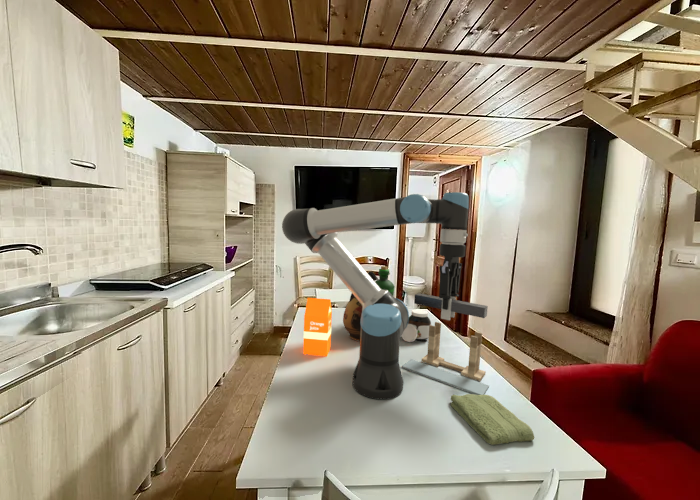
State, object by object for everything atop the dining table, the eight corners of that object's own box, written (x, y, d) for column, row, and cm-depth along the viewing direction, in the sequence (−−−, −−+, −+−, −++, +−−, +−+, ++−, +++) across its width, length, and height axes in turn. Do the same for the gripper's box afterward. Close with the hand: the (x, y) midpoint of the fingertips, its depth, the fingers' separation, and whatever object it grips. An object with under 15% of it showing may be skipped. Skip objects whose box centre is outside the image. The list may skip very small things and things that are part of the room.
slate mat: (482, 397, 87) (482, 395, 87) (401, 367, 103) (401, 365, 102) (488, 387, 92) (489, 385, 92) (411, 360, 108) (411, 359, 108)
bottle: (371, 319, 152) (373, 264, 150) (392, 321, 151) (395, 265, 148) (369, 326, 142) (372, 267, 139) (392, 328, 140) (395, 269, 138)
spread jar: (430, 336, 133) (432, 310, 132) (430, 346, 122) (432, 318, 121) (402, 332, 136) (404, 307, 135) (400, 342, 125) (401, 314, 124)
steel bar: (484, 318, 87) (484, 308, 87) (414, 303, 101) (414, 294, 101) (486, 315, 90) (487, 306, 89) (418, 301, 103) (418, 293, 103)
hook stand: (480, 381, 96) (483, 339, 94) (421, 361, 108) (423, 324, 107) (485, 374, 100) (488, 334, 99) (428, 356, 112) (430, 320, 111)
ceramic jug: (381, 333, 134) (384, 266, 131) (375, 346, 119) (379, 271, 116) (344, 328, 138) (346, 263, 135) (334, 341, 123) (336, 268, 120)
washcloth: (488, 399, 87) (489, 388, 86) (538, 443, 69) (539, 430, 69) (446, 403, 84) (447, 392, 84) (487, 450, 67) (488, 436, 66)
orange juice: (326, 356, 109) (328, 302, 107) (302, 354, 110) (304, 300, 108) (330, 347, 116) (332, 296, 115) (308, 345, 117) (309, 295, 116)
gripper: (456, 245, 85) (450, 326, 87) (473, 243, 97) (467, 314, 100) (430, 243, 89) (425, 320, 91) (450, 242, 102) (445, 310, 104)
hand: (447, 317), depth 95 cm, fingers closed on steel bar, 3 cm apart
